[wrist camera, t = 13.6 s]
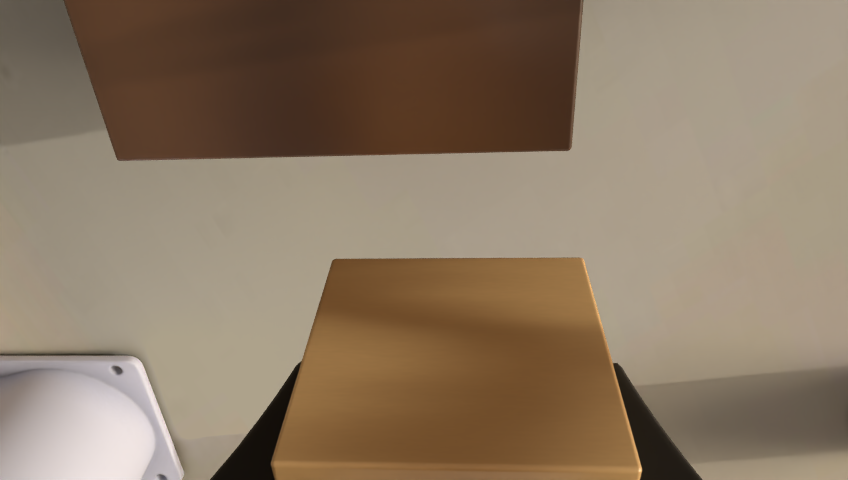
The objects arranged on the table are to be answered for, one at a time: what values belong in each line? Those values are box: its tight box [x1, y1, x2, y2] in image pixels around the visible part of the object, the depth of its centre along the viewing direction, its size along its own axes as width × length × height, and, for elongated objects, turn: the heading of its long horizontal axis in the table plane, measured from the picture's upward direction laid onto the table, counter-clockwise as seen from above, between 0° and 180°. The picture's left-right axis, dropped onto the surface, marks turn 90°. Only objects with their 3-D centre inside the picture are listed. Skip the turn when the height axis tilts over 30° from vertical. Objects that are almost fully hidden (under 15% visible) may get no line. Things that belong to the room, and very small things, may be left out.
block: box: [271, 258, 642, 480], centre depth 12 cm, size 5×5×5 cm
